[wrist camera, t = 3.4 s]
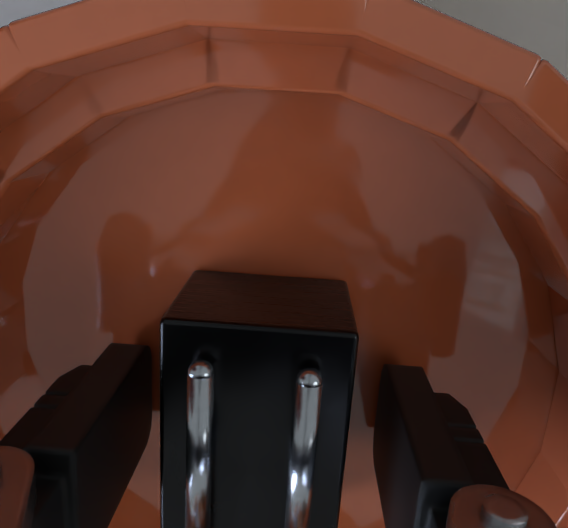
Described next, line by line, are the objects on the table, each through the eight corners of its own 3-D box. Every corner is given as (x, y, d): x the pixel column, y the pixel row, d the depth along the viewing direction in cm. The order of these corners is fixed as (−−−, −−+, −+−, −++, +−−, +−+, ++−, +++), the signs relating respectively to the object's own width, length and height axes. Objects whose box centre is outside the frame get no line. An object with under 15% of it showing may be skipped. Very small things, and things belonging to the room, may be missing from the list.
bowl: (-104, -4, 10) (-318, -63, 6) (689, 45, 9) (899, 11, 6) (-26, 604, 14) (-133, 765, 10) (533, 653, 13) (607, 835, 10)
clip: (193, 268, 10) (149, 330, 8) (347, 278, 10) (363, 346, 7) (189, 484, 12) (151, 607, 9) (325, 495, 12) (331, 623, 9)
